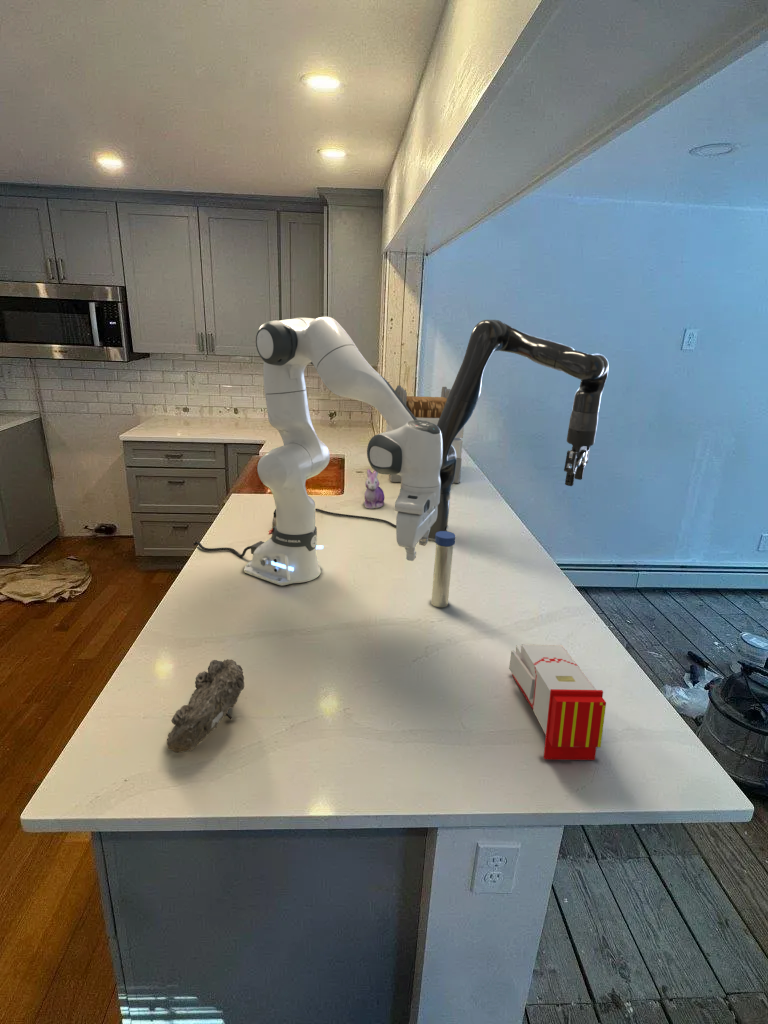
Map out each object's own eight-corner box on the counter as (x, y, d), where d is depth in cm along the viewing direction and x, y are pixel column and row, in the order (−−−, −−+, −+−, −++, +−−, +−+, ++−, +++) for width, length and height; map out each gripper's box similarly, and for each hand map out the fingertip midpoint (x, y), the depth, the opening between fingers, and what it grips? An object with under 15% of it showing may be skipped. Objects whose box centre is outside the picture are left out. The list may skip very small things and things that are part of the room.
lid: (446, 537, 151) (446, 529, 150) (459, 544, 147) (459, 536, 146) (430, 540, 148) (431, 533, 148) (443, 547, 144) (444, 540, 144)
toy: (558, 627, 126) (616, 698, 97) (552, 682, 129) (607, 767, 99) (504, 626, 126) (545, 697, 96) (499, 681, 128) (538, 766, 99)
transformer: (382, 463, 289) (386, 382, 275) (445, 464, 293) (451, 384, 279) (390, 482, 257) (394, 392, 243) (460, 483, 261) (468, 394, 247)
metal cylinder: (440, 598, 157) (446, 531, 150) (451, 605, 153) (457, 537, 147) (428, 601, 154) (433, 534, 148) (438, 609, 151) (444, 540, 144)
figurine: (368, 510, 221) (370, 473, 216) (357, 502, 229) (358, 466, 224) (390, 507, 225) (391, 471, 220) (378, 500, 233) (379, 464, 228)
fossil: (192, 660, 117) (244, 628, 112) (224, 691, 120) (276, 661, 115) (142, 746, 98) (202, 712, 93) (182, 779, 101) (242, 748, 96)
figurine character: (291, 537, 195) (296, 518, 209) (290, 518, 192) (296, 499, 206) (271, 537, 195) (278, 517, 209) (270, 517, 192) (277, 498, 205)
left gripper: (420, 481, 137) (417, 534, 141) (391, 505, 119) (389, 566, 123) (445, 484, 135) (442, 538, 139) (420, 510, 117) (417, 571, 121)
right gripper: (577, 422, 167) (568, 474, 173) (561, 428, 156) (552, 484, 162) (603, 425, 163) (593, 479, 169) (588, 433, 152) (578, 490, 158)
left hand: (417, 551), depth 131 cm, fingers open, 8 cm apart
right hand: (573, 482), depth 165 cm, fingers open, 8 cm apart
